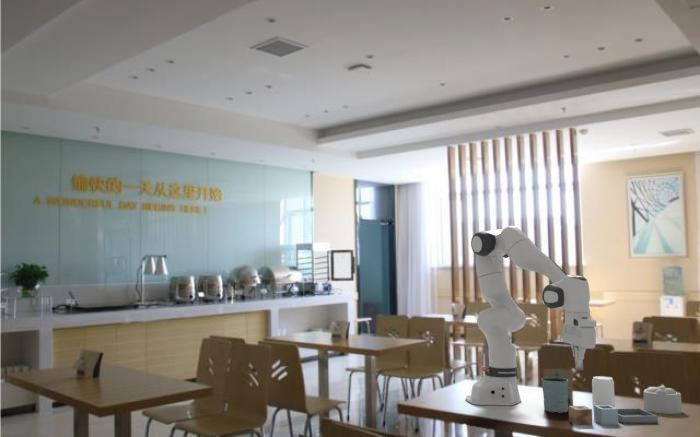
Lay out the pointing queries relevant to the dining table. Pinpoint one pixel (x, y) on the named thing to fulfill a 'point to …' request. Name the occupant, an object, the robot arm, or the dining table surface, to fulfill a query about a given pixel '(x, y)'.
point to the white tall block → (603, 391)
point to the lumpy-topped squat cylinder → (662, 400)
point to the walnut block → (580, 415)
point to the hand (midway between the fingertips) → (578, 358)
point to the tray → (636, 416)
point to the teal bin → (555, 394)
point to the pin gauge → (578, 360)
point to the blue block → (606, 414)
